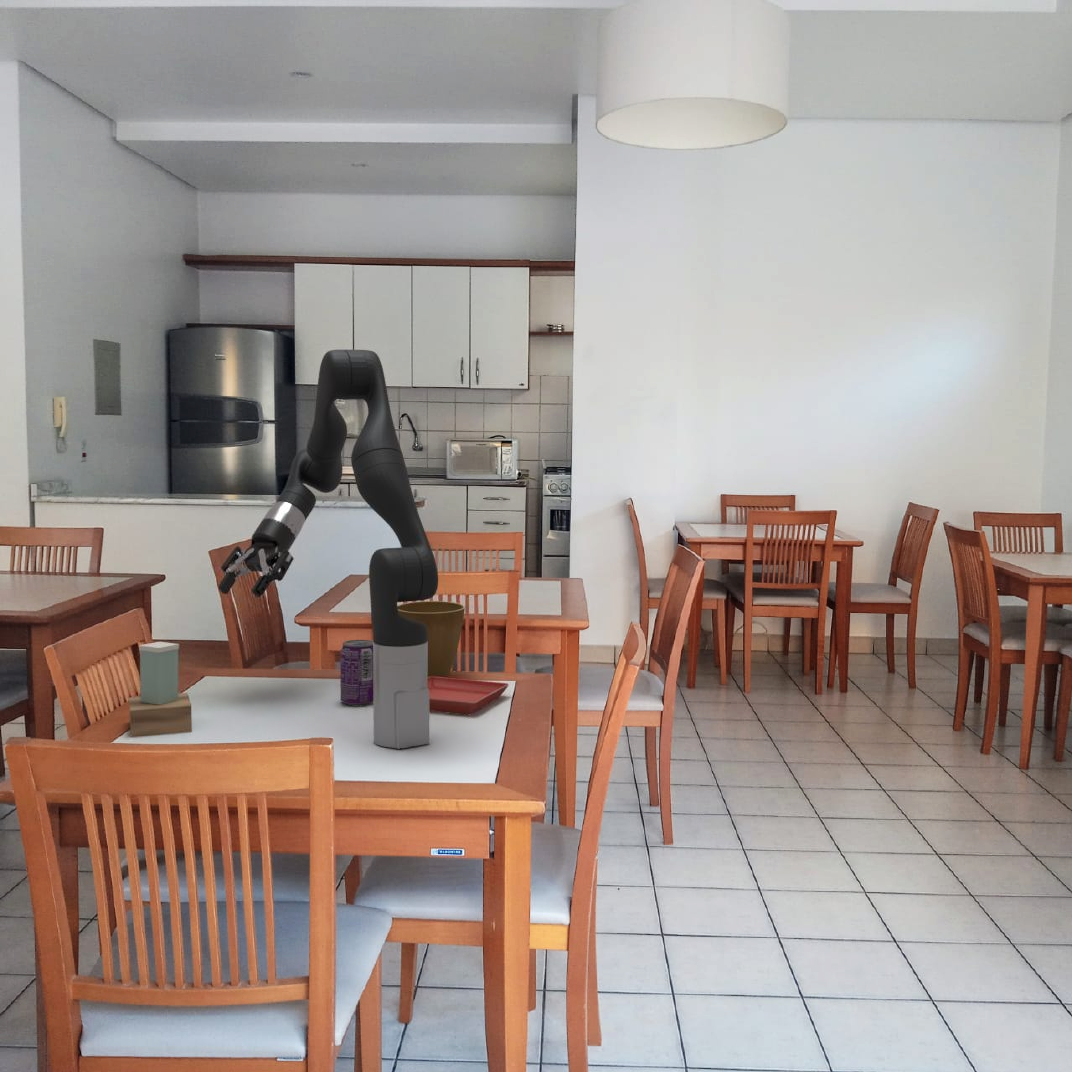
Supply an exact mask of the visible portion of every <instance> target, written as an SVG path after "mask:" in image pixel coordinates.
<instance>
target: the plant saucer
mask: <svg viewBox="0 0 1072 1072" xmlns="http://www.w3.org/2000/svg"><path fill="white" fill-rule="evenodd" d="M509 684H510V683H506V682H499V681H498V682H497V681H488V680H487V681H486V680H477V679H476V680H475V679H466V678H454V677H448V678H444V677H428V689H429V712H436V713H446V712H449V713H448V714H455V713H458V714H457V715H465V714H466V715H465V716H470V715H472V714H474V713H476V712H477V711H479V710H481V709H483V708H485V707H486V706H488V705H489V704H491V703H493V702H495V701H496V700H498V699H499V698H500V697H501V696H502V695H503V694H504V692H505V691H506V690H507V688H508V687H509ZM482 707H483V708H482ZM469 714H470V715H469Z"/></svg>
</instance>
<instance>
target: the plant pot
mask: <svg viewBox="0 0 1072 1072" xmlns="http://www.w3.org/2000/svg"><path fill="white" fill-rule="evenodd" d="M397 606H398V612H399V614H400V615H402V616H403V617H405V618H408V619H411V620H415V621H418V622H421V623H423V624H425V625H426V626H427V630H428V677H444V678H449V676H450V673H451V670H452V667H453V665H454V662H455V660H456V659H455V658H456V655H457V652H458V647H459V643H460V638H461V634H462V628H463V623H464V616H465V611H466V609H465V608H466V606H465V605H464V604H462V603H458V602H453V601H443V600H420V601H409V602H403V603H400V604H397Z"/></svg>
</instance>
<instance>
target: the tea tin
mask: <svg viewBox="0 0 1072 1072" xmlns="http://www.w3.org/2000/svg"><path fill="white" fill-rule="evenodd" d="M138 647H139V648H138V650H139V653H140V654H139V661H140V662H139V670H140V671H139V673H140V676H139V677H140V678H139V680H140V696H139V697H140V701H141V702H145V703H151V704H157V705H161V704H164V703H168V702H172V701H176V700H178V693H179V649H180V643H172V642H167V641H166V642H165V641H156V642H150V643H146V644H140V645H138Z"/></svg>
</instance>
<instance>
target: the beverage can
mask: <svg viewBox="0 0 1072 1072" xmlns="http://www.w3.org/2000/svg"><path fill="white" fill-rule="evenodd" d="M339 652H340V654H339V657H340V658H339V659H340V662H339V663H340V664H339V667H340V668H339V669H340V670H339V671H340V676H339V677H340V678H339V679H340V680H339V681H340V684H339V686H340V693H339V694H340V701H341V702H343V704H344V703H345V704H346V705H348V706H352V705H355V706H356V705H357V706H358V707H361V706H360V705H362V706H368V705H371V704H372V703H373V640H369V639H351V640H345V641H343V642H342V647H341V649H340V651H339ZM370 703H371V704H370ZM367 704H368V705H367Z"/></svg>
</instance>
